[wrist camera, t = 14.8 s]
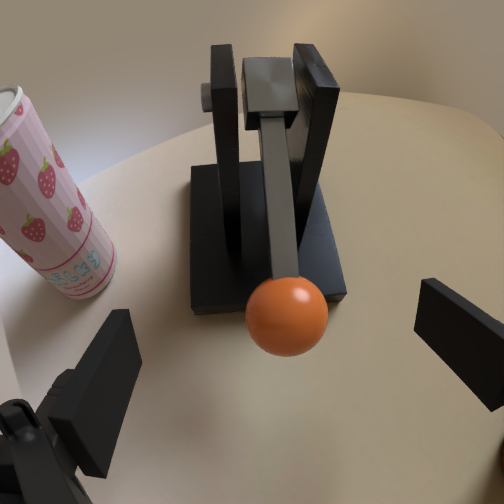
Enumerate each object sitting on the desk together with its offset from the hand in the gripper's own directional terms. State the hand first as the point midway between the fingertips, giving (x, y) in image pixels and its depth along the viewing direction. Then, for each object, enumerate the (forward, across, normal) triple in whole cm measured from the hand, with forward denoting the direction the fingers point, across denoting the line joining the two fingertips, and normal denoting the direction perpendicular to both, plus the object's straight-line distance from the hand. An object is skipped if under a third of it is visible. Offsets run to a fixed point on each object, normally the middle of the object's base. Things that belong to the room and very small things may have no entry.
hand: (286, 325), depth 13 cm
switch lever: (+4, 0, +4) cm, 6 cm away
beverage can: (+11, -13, 0) cm, 17 cm away
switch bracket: (+12, 0, +1) cm, 12 cm away
